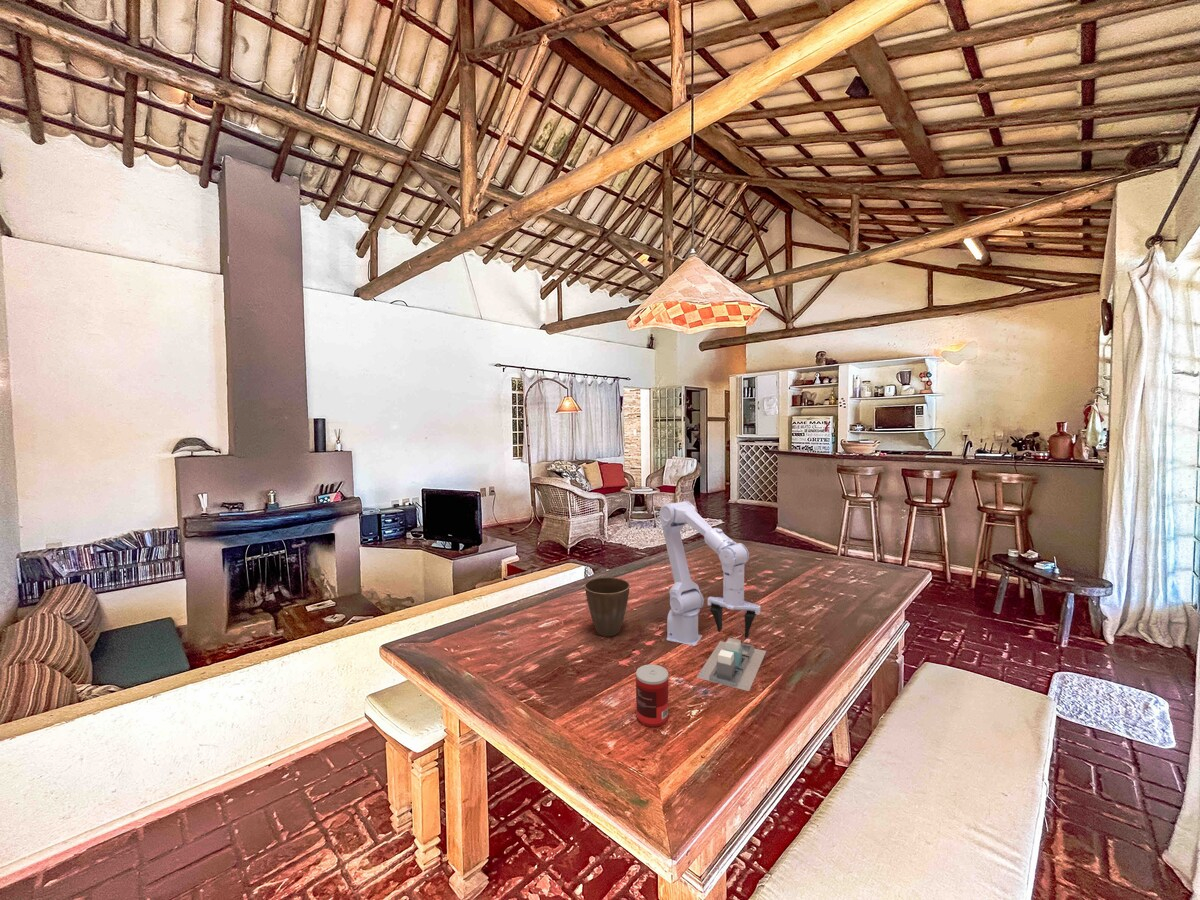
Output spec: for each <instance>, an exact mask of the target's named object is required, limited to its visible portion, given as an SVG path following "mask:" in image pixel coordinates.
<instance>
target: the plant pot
mask: <svg viewBox="0 0 1200 900" xmlns="http://www.w3.org/2000/svg"><path fill="white" fill-rule="evenodd" d="M630 585H631V584H630V583H629V582H628V581H627V580H625V579H622V578H617V577H599V578H594V579H591V580H588V581H587V582H586V583H585V584H584V589H585V597H586V601H587V606H588V610H589V613H590V614H589V615H590V616H591V620H592V624H593V625H594V628H595V630H596V633H597V634H598V635H600V636H601V637H614V636H616V635H618V634H619V632H620V630H621V627H622V626H623V625H622V624H623V622H624V618H625V614H626V612H627V607H628V601H629V594H630V588H631V587H630Z"/></svg>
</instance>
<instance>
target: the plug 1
mask: <svg viewBox="0 0 1200 900" xmlns="http://www.w3.org/2000/svg"><path fill="white" fill-rule="evenodd" d="M741 641H742V640H741V639H737V638H732V637H728V638H727V640H726V641H725V642H726V648H725V649H724V650H726V651H730V652H734V659H735V666H740V664H741V662H742V646H741V643H742V642H741Z"/></svg>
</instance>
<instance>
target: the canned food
mask: <svg viewBox="0 0 1200 900" xmlns="http://www.w3.org/2000/svg"><path fill="white" fill-rule="evenodd" d="M635 704H636V705H635V708H636V709H635V713H636V714H635V715H636V718H637V720H638V721H639V722H640V724H642V725H644V726H646V727H649V728H657V727H661V726H662V725H664V724H665V723H667V720H668V718H669V672H668V670H667V669H666V668H665V667H664V666H661V665H658V664H645V665H641V666H640V667H638V668H637V669H636V672H635Z"/></svg>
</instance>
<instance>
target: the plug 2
mask: <svg viewBox="0 0 1200 900" xmlns="http://www.w3.org/2000/svg"><path fill="white" fill-rule="evenodd" d="M734 676H735V659H734V652H730V651H726V650H721V651H720V653H719V654H718V661H717V677H721V678H725V679H729V680H733V678H734Z"/></svg>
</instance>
